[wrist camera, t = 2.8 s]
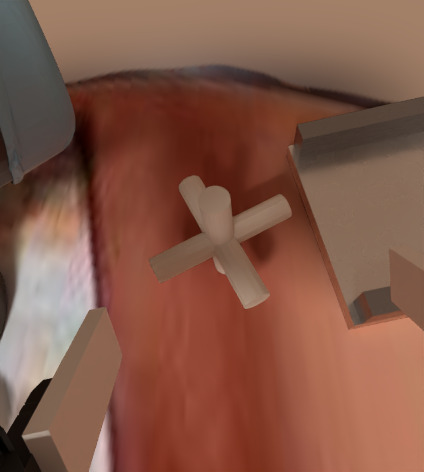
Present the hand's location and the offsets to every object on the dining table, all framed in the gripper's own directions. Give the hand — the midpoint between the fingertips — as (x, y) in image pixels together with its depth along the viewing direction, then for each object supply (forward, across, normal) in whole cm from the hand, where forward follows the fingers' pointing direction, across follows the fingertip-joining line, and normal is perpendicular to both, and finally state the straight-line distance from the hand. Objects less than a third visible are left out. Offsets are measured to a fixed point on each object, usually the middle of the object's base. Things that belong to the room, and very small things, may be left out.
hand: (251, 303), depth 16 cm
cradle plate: (+13, +15, -2) cm, 20 cm away
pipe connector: (+12, -1, -3) cm, 12 cm away
